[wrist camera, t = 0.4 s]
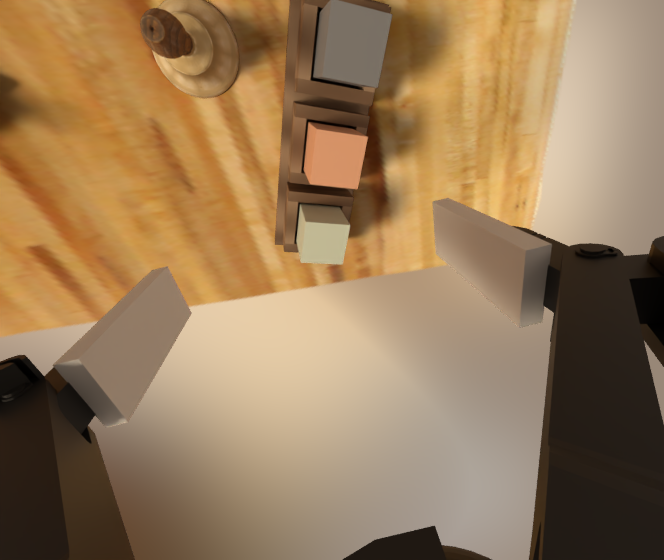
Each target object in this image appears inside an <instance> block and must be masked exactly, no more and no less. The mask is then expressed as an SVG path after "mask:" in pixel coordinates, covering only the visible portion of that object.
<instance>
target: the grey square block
mask: <svg viewBox="0 0 664 560" xmlns="http://www.w3.org/2000/svg"><path fill="white" fill-rule="evenodd" d="M391 19H392V14H389V13H385V12H381V11H378V10H374V9H370V8H366V7H362V6H358V5H355V4H351V3H347V2H343V1H339V0H330V1H329V2H328V3H327V4H326V6H325V7H324V8H323V9H322V10H321V12H320V13H319V22H318V32H317V42H316V51H315V61H314V71H313V78H318V79H323V80H329V81H334V82H339V83H344V84H349V85H355V86H360V87H374V88H378V84H379V79H380V74H381V69H382V64H383V59H384V54H385V49H386V44H387V39H388V34H389V29H390V24H391Z"/></svg>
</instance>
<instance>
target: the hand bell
mask: <svg viewBox="0 0 664 560" xmlns="http://www.w3.org/2000/svg"><path fill="white" fill-rule="evenodd" d="M140 27H141V33H142V36H143V38H144V40H145V42H146V43H147V45H148V46H149V47H150V48H151V49H152V51H153V54H154V57H155V60H156V62H157V64H158V66H159V67H160V69H161V71H162V72H163V74H164V75H165V76H166V78H167V79H168V80H169V81H170V82H171V83H172V84H173V85H174V86H176V87H177V88H178V89H180V90H181V91H183V92H185V93H187V94H189V95H191V96H194V97H199V98H211V97H216V96H218V95H220V94H222V93H224V92H225V91H226V90H227V89H228V88H229V87H230V86H231V85H232V83H233V82H234V80H235V77H236V75H237V72H238V66H239V52H238V46H237V42H236V38H235V36H234V33H233V31H232V29H231V27H230V25H229V24H228V22H227V21H226V19H225V18H224V17H223V15H222V14H221V13H220V12H219V11H218V10H217V9H216V8H215V7H214V6H212V5H211V4H210V3H208V2H206V1H205V0H165V1H164V2H163V3H162V4H161V5H160V6H159V7H158V8H153V9H149V10H148V11H146V12H145V13H144V14H143V16H142V18H141V22H140Z"/></svg>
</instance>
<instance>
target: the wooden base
mask: <svg viewBox="0 0 664 560" xmlns="http://www.w3.org/2000/svg"><path fill="white" fill-rule="evenodd" d="M329 1H330V0H290V7H289V23H288V39H287V55H286V71H285V88H284V104H283V120H282V136H281V152H280V168H279V184H278V200H277V216H276V233H275V245H283V246H284V252H299V251H298V246H297V241H296V237H297V228H298V218H299V208H300V203H305V204H316V205H327V206H338V207H340V209H341V210H342V212H343V214H344V215H345V217H346V219H347V220H348V222H349V220H350V215H351V210H352V205H353V200H354V197H353V196H352V195H353V190H355V189H351V188H341V187H332V186H323V185H313V184H310V183H309V181H308V179H307V176H306V174H305V172H304V170H303V169H304V159H305V149H306V139H307V130H308V122H314V123H320V124H326V125H333V126H339V127H346V128H352V129H354V130H356V131H358V132H360V133H362V134H364V135H365V136H366V133H367V128H368V123H369V118H370V116H368V112H369V107H370V105H371V106H372V103H373V97H374V92H375V88H374V87H360V86H355V85H349V84H344V83H339V82H334V81H329V80H323V79H318V78H313V71H314V61H315V51H316V42H317V32H318V22H319V13H320V12H321V10H322V9H323V8H324V7H325V6H326V4H327V3H328V2H329ZM339 1H343V2H347V3H351V4H355V5H358V6H362V7H366V8H370V9H374V10H378V11H381V12H385V13H389V14H390V11H391V7H389V5H387V4H384V3H380V2H376V1H373V0H339Z"/></svg>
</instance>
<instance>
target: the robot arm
mask: <svg viewBox="0 0 664 560" xmlns="http://www.w3.org/2000/svg"><path fill="white" fill-rule="evenodd" d="M433 216H434V232H435V247H436V254H437V255H438V256H439V257H440V258H441V259H442V260H443V261H445V262H446V263H447V264H448V265H449V266H450V267H451V268H453V269H454V270H455V271H456V272H457V273H458V274H459V275H460V276H462V277H463V278H464V279H465V280H466V281H467V282H468V283H469V284H471V285H472V286H473V287H474V288H475V289H476V290H477V291H479V292H480V293H481V294H482V295H483V296H484V297H485V298H486V299H487V300H489V301H490V302H491V303H492V304H493V305H494V306H495V307H497V308H498V309H499V310H500V311H501V312H502V313H503V314H504V315H505V316H507V317H508V318H509V319H510V320H511V321H512V322H513V323H514V324H516V325H517V326H518V327H519V328H521V327H525V326H529V325H533V324H537V323H541V322H542V320H543V312H544V306H545V307H546V308H548V309H549V310H551V311H552V312H554V317H553V324H552V331H551V338H550V342H551V346H550V356H549V366H548V377H547V386H546V397H545V407H544V418H543V428H542V438H541V448H540V459H539V469H538V480H537V490H536V500H535V511H534V522H533V530H532V531H533V532H532V539H531V547H530V556H529V560H664V424H663V420H662V416H661V411H660V407H659V403H658V399H657V394H656V390H655V386H654V382H653V377H652V373H651V369H650V365H649V361H648V356H647V352H646V348H645V344H644V341H645V342H646V343H647V345H648V346H649V348H650V349H651V350H652V352H653V353H654V354H655V356H656V357H657V359H658V360H659V361H660V362H661V364H662V365H663V367H664V236H662V237H659V238H656V239H655V240H654V241H653V243H652V245H651V249H650V253H649V254H645V255H631V256H624V255H623V253H622V252H621V251H620V250H619V249H616V248H614V247H611V246H607V245H603V244H591V243H590V244H577V245H572V246H567V245H565V244H562V243H560V242H558V241H555V240H553V239H550V238H546V236H543V235H541V234H537V233H536V232H534V231H532V230H529V229H527V228H522V227H516V226H510V225H508V224H506V223H503V222H501V221H499V220H497V219H494V218H492V217H490V216H488V215H485V214H483V213H481V212H479V211H476V210H474V209H472V208H470V207H467V206H465V205H463V204H461V203H458V202H456V201H454V200H452V199H449V198H446V199H442V200H438V201H433ZM190 315H191V311H190V309H189V307H188V305H187V303H186V301H185V299H184V297H183V295H182V294H181V292H180V290H179V288H178V286H177V284H176V282H175V280H174V278H173V276H172V274H171V272H170V270H169V268H168V266H167V267H163V268H159V269H155V270H152V271H151V272H150V273H149V274H148V275H146V276H145V277H144V278H143V279H142V280H141V281H140V282H139V283H138V284H137V285H136V286H135V287H134V288H133V289H132V290H131V291H130V292H129V293H128V294H127V295H126V296H125V297H123V298H122V299H121V300H120V301H119V302H118V303H117V304H116V305H115V306H114V307H113V308H112V309H111V310H110V311H109V312H108V313H107V314H106V315H105V316H104V317H103V318H102V319H100V320H99V321H98V322H97V323H96V324H95V325H94V326H93V327H92V328H91V329H90V330H89V331H88V332H87V333H86V334H85V335H84V336H83V337H82V338H81V339H80V340H79V341H77V343H75V344H74V345H73V346H72V347H71V348H70V349H69V350H68V351H67V352H66V353H65V354H64V355H63V356H62V357H61V358H60V359H59V360H58V361H57V362H56V363H55V364H53V366H54V368H53V369H52V370H51V371H49V372H48V374H46V376H43V375H42V373H41V372H40V371H39V370H38V369H37V368H36V367H35V366H34V365H33V364H32V362H31V361H30V360H29V359H28V358H27V357H26V356H25V355H18V356H15V357H11V358H8V359H6V360H4V361H1V362H0V560H135V559H134V555H133V552H132V549H131V546H130V543H129V539H128V536H127V533H126V530H125V527H124V524H123V521H122V517H121V515H120V511H119V508H118V505H117V502H116V499H115V496H114V492H113V489H112V486H111V483H110V480H109V477H108V473H107V470H106V467H105V464H104V461H103V458H102V455H101V451H100V448H99V445H98V442H97V439H96V436H95V433H94V432H93V431H92V430H91V429H90V427H89V426H88V424H89V423H90V422H91V420H92V419H93V417H94V416H96V417H97V418H98V419H99V420H100V422H101V423H102V424H103V425H104V426H105V427H110V426H114V425H118V424H122V423H127V422H129V420H130V418H131V416H132V415H133V413H134V411H135V409H136V408H137V406H138V404H139V403H140V401H141V399H142V398H143V396H144V394H145V392H146V391H147V389H148V387H149V386H150V384H151V382H152V380H153V379H154V377H155V375H156V374H157V372H158V370H159V368H160V367H161V365H162V363H163V362H164V360H165V358H166V356H167V355H168V353H169V351H170V349H171V348H172V346H173V344H174V343H175V341H176V339H177V337H178V335H179V334H180V332H181V331H182V329H183V327H184V325H185V323H186V322H187V320H188V319H189V317H190ZM343 560H491V559H489V558H487V557H485V556H482V555H480V554H477V553H475V552H472V551H469V550H465V549H461V548H457V547H452V546H444V545H441V542H440V539H439V536H438V534H437V531H436V528H435V526H431V527H427V528H423V529H419V530H414V531H410V532H406V533H402V534H398V535H393V536H389V537H385V538H381V539H377V540H374V541H372V542H371V543H369V544H367V545H366V546H364V547H362V548H361V549H359V550H358V551H356V552H354V553H353V554H351V555H349V556H348V557H346V558H344V559H343Z"/></svg>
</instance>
